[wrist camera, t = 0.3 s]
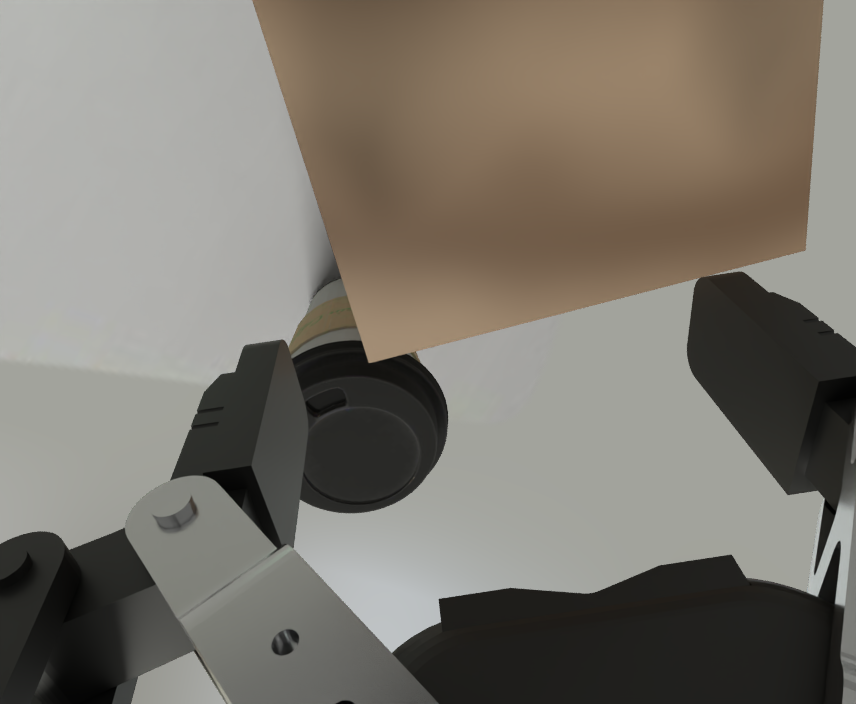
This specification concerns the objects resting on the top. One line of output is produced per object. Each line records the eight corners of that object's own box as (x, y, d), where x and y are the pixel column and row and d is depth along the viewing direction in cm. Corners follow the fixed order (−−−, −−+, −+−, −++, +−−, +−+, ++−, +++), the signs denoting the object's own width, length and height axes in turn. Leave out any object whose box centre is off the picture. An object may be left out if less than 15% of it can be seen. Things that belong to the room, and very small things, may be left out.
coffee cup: (337, 222, 39) (330, 320, 25) (449, 305, 42) (494, 429, 29) (255, 330, 41) (210, 469, 28) (366, 399, 45) (372, 552, 32)
